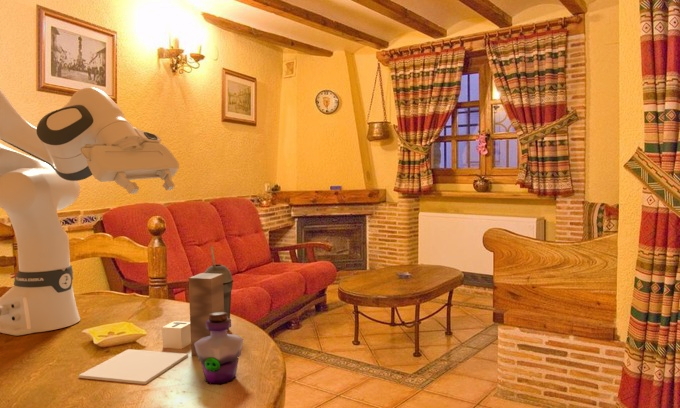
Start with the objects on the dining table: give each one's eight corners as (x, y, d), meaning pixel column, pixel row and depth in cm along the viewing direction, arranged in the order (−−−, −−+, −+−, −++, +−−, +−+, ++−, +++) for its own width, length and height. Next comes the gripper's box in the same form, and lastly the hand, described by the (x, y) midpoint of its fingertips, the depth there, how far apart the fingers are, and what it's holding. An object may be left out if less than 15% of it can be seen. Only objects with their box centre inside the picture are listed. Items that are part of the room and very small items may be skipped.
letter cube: (163, 347, 110) (162, 326, 109) (174, 341, 114) (174, 320, 114) (181, 349, 108) (180, 327, 108) (193, 342, 113) (192, 321, 113)
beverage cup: (227, 335, 117) (224, 248, 115) (197, 334, 118) (194, 248, 117) (239, 326, 124) (237, 243, 122) (211, 324, 125) (208, 243, 124)
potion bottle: (194, 391, 87) (191, 321, 86) (196, 372, 95) (194, 308, 95) (246, 385, 89) (243, 317, 88) (243, 367, 98) (241, 305, 97)
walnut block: (191, 355, 104) (188, 277, 103) (204, 347, 109) (201, 273, 108) (213, 357, 103) (210, 278, 102) (225, 349, 108) (222, 273, 107)
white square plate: (78, 377, 94) (78, 375, 94) (128, 351, 107) (128, 349, 107) (145, 384, 90) (145, 381, 90) (188, 356, 104) (187, 353, 104)
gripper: (82, 133, 104) (116, 182, 100) (164, 135, 121) (195, 177, 117) (71, 156, 106) (103, 204, 102) (152, 154, 124) (183, 196, 120)
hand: (153, 189), depth 110 cm, fingers open, 8 cm apart
